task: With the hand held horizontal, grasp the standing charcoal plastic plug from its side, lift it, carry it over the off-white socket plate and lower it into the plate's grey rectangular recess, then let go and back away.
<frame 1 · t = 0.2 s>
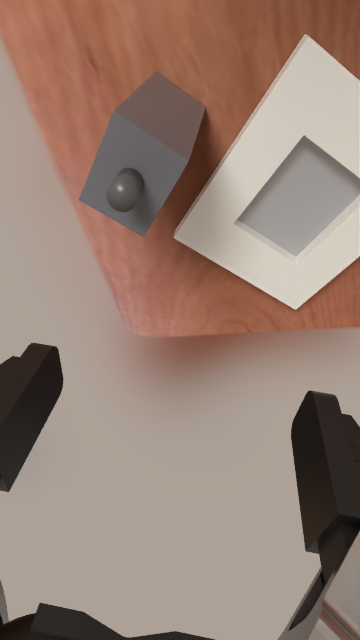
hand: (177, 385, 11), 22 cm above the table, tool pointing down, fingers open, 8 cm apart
socket plate: (297, 199, 28), on the table
plug: (164, 123, 26), on the table
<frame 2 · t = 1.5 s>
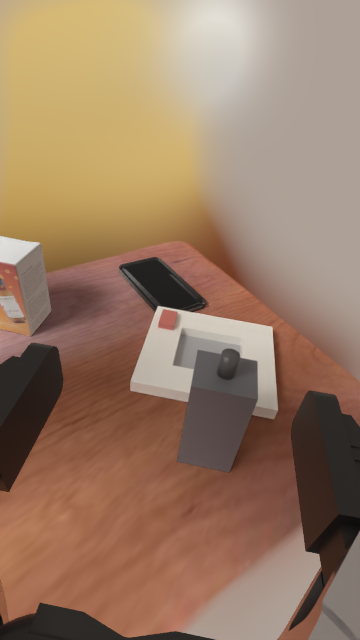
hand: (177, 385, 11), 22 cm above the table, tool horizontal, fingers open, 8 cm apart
socket plate: (207, 360, 43), on the table
small box: (14, 319, 46), on the table
plug: (205, 447, 34), on the table
phone: (160, 290, 55), on the table
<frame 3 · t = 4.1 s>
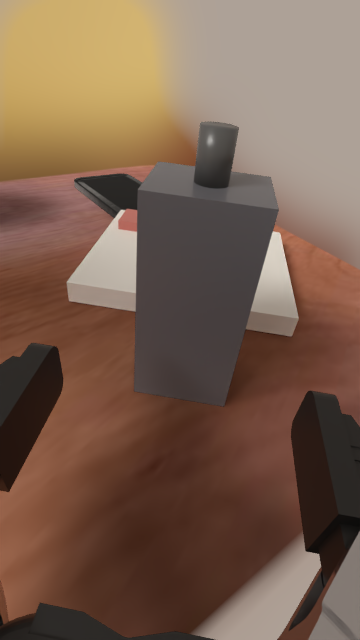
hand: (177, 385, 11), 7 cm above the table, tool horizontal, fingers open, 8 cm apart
socket plate: (189, 269, 30), on the table
plug: (183, 372, 21), on the table
phone: (128, 205, 42), on the table
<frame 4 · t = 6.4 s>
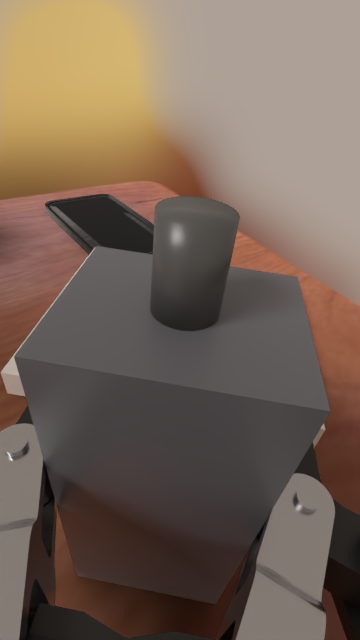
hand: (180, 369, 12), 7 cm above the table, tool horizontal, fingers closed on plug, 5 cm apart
socket plate: (177, 333, 23), on the table
plug: (156, 528, 14), on the table, touching gripper
phone: (109, 234, 35), on the table
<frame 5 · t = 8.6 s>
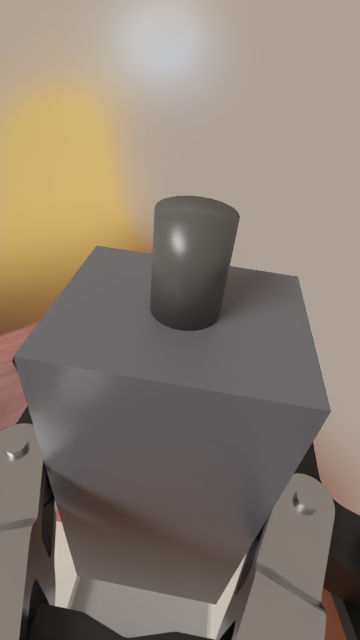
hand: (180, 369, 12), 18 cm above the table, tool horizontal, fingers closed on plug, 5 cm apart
socket plate: (143, 593, 21), on the table
plug: (156, 528, 14), point 11 cm above the table, touching gripper
when the fingers open (7 cm above the table, at t = 11.1 s): plug stays where it is, resting on socket plate.
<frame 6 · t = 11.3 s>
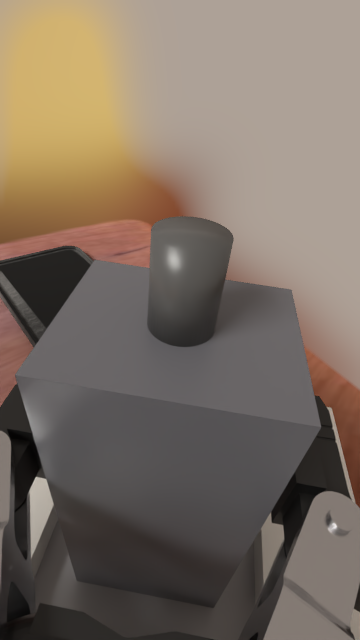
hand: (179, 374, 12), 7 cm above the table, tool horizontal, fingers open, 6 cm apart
socket plate: (155, 535, 14), on the table
plug: (155, 533, 14), resting on socket plate
phone: (73, 311, 26), on the table
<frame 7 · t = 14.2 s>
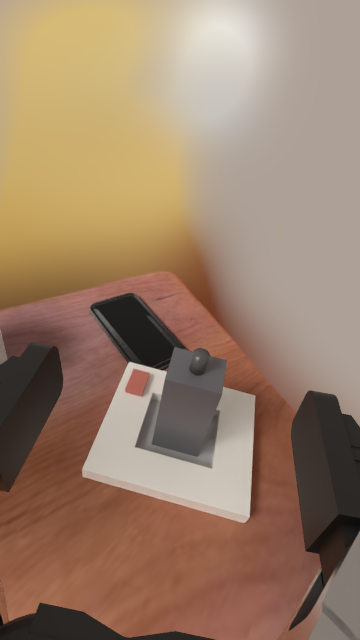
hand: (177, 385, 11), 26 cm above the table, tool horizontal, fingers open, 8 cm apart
socket plate: (177, 435, 38), on the table
plug: (178, 434, 38), resting on socket plate
phone: (136, 334, 50), on the table
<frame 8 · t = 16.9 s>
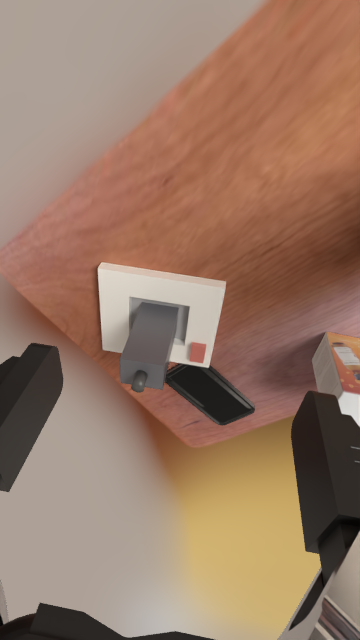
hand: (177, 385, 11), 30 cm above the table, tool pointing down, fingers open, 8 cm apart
socket plate: (160, 315, 48), on the table
small box: (345, 349, 47), on the table
plug: (159, 316, 48), resting on socket plate
phone: (209, 388, 57), on the table
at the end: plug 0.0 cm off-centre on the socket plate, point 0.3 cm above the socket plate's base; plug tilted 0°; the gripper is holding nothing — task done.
